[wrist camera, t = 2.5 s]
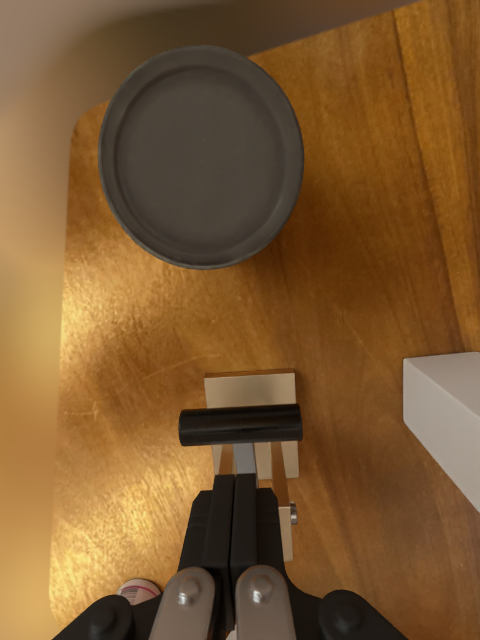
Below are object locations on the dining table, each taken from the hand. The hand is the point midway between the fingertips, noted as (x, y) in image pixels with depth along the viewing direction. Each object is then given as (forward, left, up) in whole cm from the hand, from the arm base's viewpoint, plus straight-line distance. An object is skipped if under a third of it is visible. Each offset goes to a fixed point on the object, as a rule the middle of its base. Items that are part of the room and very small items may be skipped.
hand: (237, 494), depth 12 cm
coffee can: (-13, +3, -22) cm, 25 cm away
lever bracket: (+9, -3, -21) cm, 24 cm away
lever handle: (+5, -2, -8) cm, 10 cm away
